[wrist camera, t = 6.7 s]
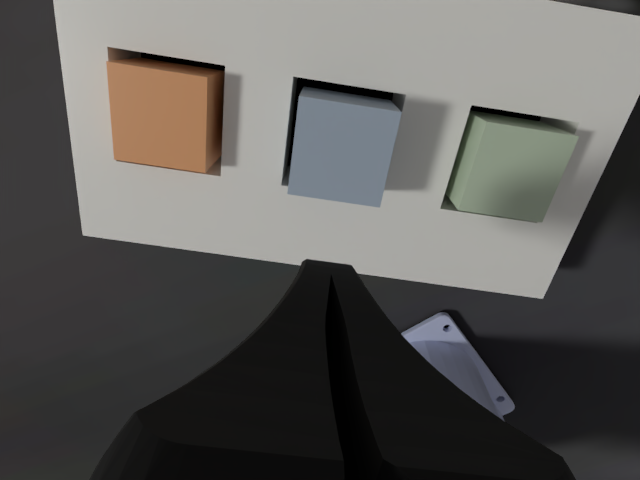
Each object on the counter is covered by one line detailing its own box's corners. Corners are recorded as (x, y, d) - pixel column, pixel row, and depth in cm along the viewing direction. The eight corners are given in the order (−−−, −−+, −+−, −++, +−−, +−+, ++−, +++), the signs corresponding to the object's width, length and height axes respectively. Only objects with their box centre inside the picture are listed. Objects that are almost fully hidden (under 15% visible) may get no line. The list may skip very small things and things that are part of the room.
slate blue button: (390, 100, 17) (401, 112, 14) (372, 182, 18) (379, 207, 16) (303, 86, 17) (298, 95, 14) (293, 170, 18) (287, 194, 16)
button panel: (619, 24, 17) (674, 22, 14) (517, 267, 22) (542, 298, 20) (89, -68, 16) (42, -89, 13) (113, 210, 21) (82, 235, 19)
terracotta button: (226, 71, 17) (207, 77, 15) (222, 153, 19) (205, 173, 16) (140, 57, 17) (106, 61, 15) (144, 141, 19) (114, 159, 16)
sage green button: (541, 121, 18) (579, 136, 15) (512, 197, 20) (542, 222, 17) (463, 109, 18) (486, 121, 15) (440, 186, 19) (458, 210, 17)
